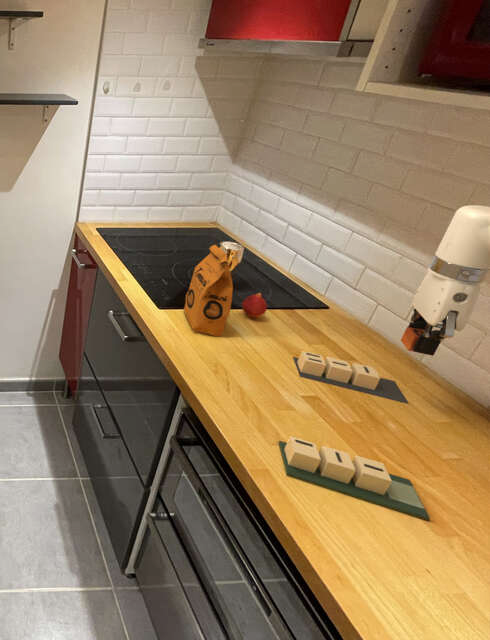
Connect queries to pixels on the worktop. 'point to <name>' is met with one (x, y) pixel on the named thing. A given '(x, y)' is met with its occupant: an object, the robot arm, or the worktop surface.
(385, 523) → the worktop surface
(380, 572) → the worktop surface
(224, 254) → the coffee package
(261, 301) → the onion
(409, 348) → the orange cube
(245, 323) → the worktop surface
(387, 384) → the word board
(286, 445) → the word board
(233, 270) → the beer glass
